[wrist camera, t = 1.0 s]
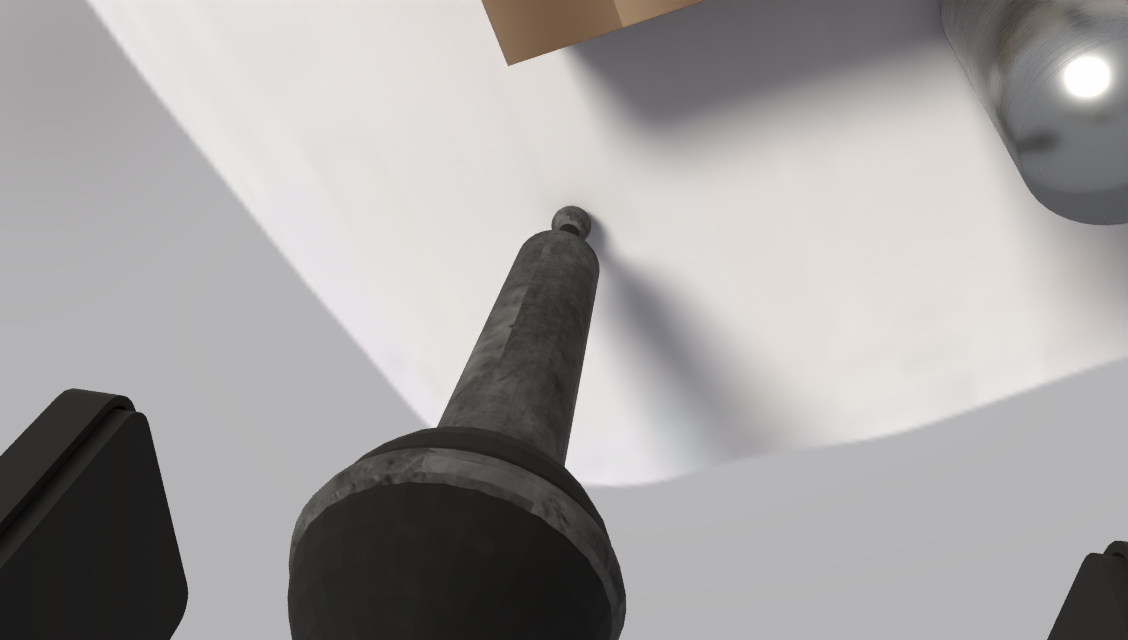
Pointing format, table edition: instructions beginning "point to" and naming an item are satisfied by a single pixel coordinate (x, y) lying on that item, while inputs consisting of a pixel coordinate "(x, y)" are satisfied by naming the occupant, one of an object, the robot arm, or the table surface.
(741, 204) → the table surface
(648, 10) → the socket block
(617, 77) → the table surface
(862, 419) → the table surface
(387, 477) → the microphone
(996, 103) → the pin
